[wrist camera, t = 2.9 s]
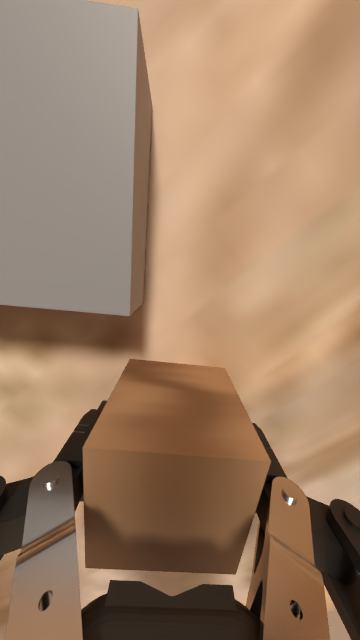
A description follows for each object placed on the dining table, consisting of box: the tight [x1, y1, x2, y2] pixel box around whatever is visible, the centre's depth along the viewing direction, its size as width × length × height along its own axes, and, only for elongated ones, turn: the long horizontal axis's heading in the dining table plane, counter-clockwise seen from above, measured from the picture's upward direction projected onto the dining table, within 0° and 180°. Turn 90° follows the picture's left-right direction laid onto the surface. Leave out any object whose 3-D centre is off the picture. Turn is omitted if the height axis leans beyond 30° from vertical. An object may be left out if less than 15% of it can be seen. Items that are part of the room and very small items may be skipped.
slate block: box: [0, 0, 152, 316], centre depth 8 cm, size 9×9×4 cm
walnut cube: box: [83, 359, 271, 574], centre depth 9 cm, size 6×6×6 cm
